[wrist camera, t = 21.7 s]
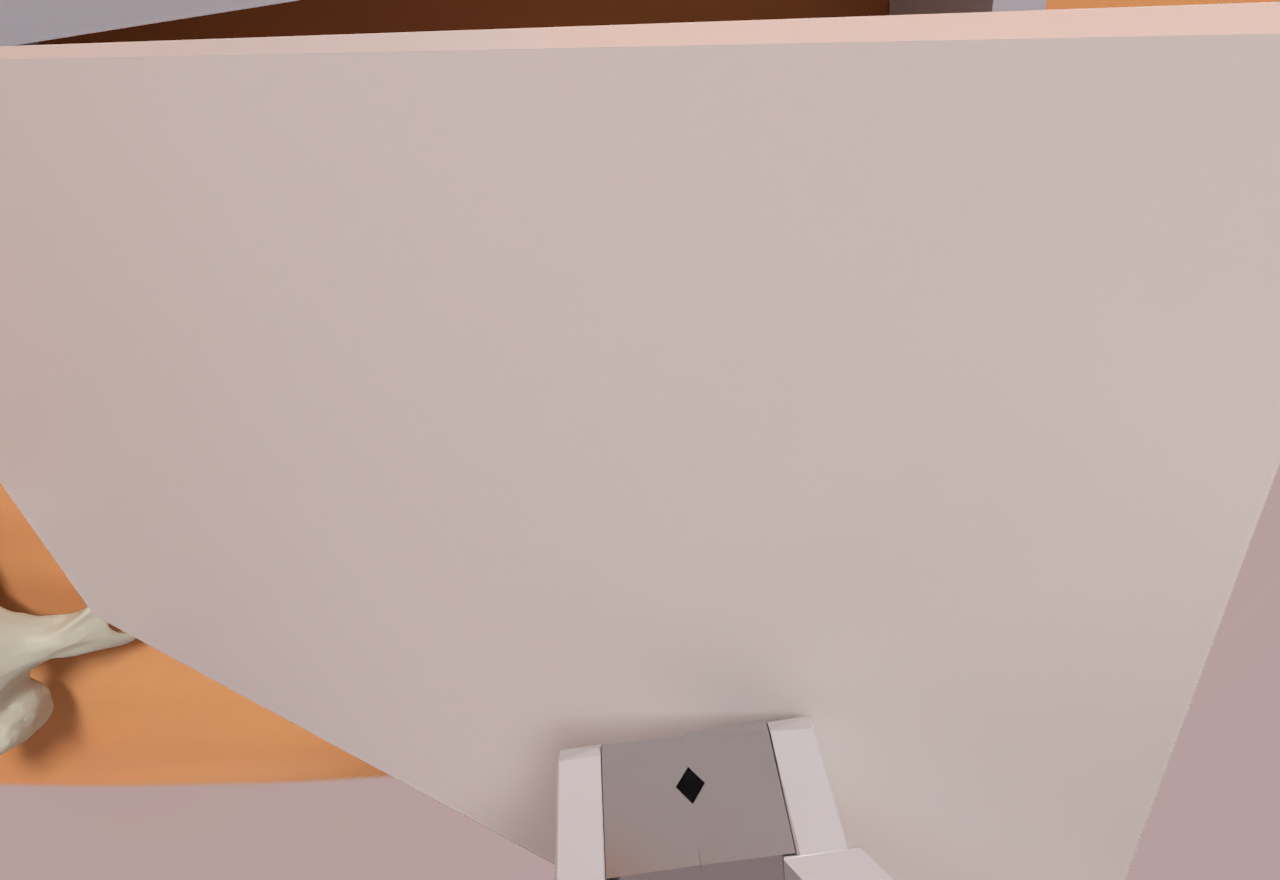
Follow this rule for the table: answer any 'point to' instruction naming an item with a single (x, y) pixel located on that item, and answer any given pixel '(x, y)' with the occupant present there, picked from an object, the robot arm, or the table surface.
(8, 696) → the spine bone
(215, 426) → the lid
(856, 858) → the robot arm
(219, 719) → the table surface
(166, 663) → the table surface
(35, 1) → the duct
